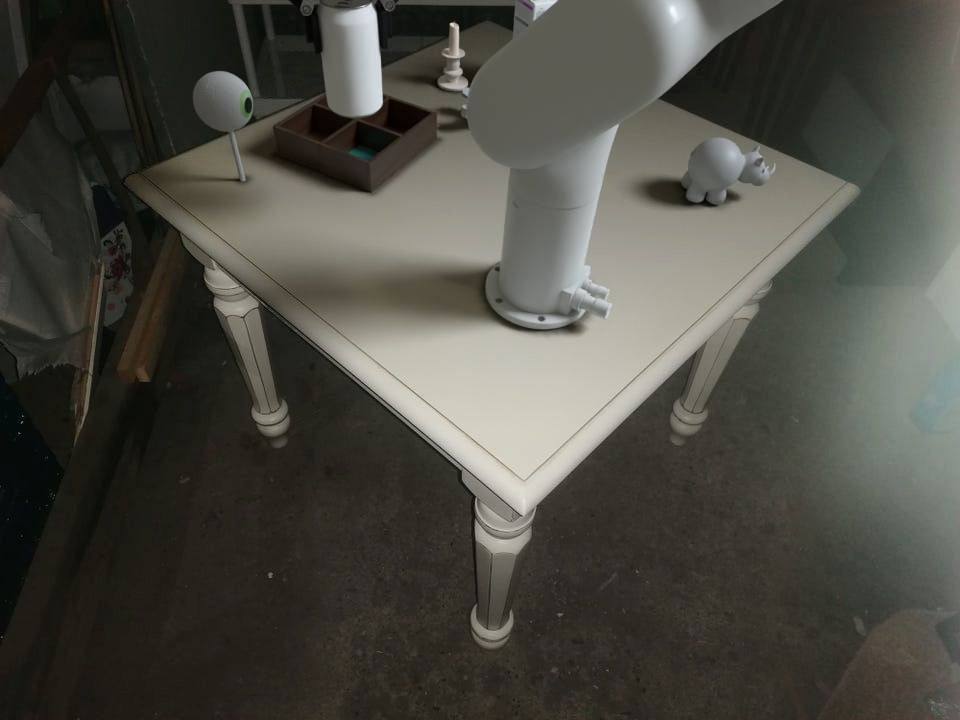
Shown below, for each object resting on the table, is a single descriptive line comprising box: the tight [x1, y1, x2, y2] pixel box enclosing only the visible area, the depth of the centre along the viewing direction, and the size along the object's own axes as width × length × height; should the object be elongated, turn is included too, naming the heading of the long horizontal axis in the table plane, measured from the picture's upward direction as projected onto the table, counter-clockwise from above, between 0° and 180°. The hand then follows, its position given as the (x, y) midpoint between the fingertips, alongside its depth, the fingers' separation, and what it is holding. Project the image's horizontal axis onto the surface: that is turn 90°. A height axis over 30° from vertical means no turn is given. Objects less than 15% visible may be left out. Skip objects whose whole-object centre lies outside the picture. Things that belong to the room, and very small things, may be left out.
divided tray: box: [271, 92, 438, 193], centre depth 98 cm, size 17×17×4 cm
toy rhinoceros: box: [680, 136, 776, 206], centre depth 93 cm, size 7×12×8 cm, turn 86°
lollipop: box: [192, 70, 254, 182], centre depth 87 cm, size 7×7×15 cm
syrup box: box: [512, 0, 558, 39], centre depth 110 cm, size 6×6×14 cm
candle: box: [437, 20, 469, 92], centre depth 110 cm, size 5×5×10 cm
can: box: [316, 0, 383, 118], centre depth 74 cm, size 6×6×12 cm
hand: (350, 44), depth 73 cm, fingers closed on can, 6 cm apart
